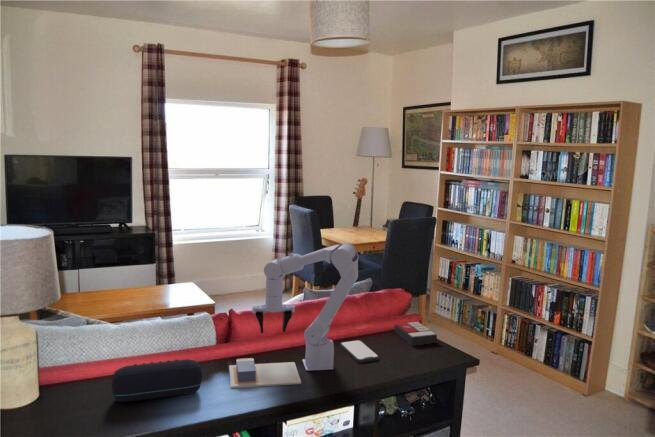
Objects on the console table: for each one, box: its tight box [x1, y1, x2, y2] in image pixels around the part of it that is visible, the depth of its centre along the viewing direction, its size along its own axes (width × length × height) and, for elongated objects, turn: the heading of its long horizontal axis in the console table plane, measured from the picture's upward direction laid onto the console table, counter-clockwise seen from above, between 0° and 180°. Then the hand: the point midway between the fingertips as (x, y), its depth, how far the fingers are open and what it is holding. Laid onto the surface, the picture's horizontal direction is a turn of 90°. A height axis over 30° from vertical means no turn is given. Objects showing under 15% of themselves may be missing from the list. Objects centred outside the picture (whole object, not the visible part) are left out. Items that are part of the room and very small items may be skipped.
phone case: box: [339, 339, 380, 364], centre depth 190 cm, size 9×2×16 cm
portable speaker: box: [111, 358, 203, 403], centre depth 153 cm, size 25×10×10 cm, turn 111°
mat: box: [228, 361, 302, 389], centre depth 169 cm, size 22×14×1 cm, turn 103°
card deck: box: [235, 357, 256, 382], centre depth 167 cm, size 9×6×3 cm, turn 13°
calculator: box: [394, 321, 438, 347], centre depth 206 cm, size 11×4×15 cm
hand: (272, 331), depth 181 cm, fingers open, 7 cm apart
